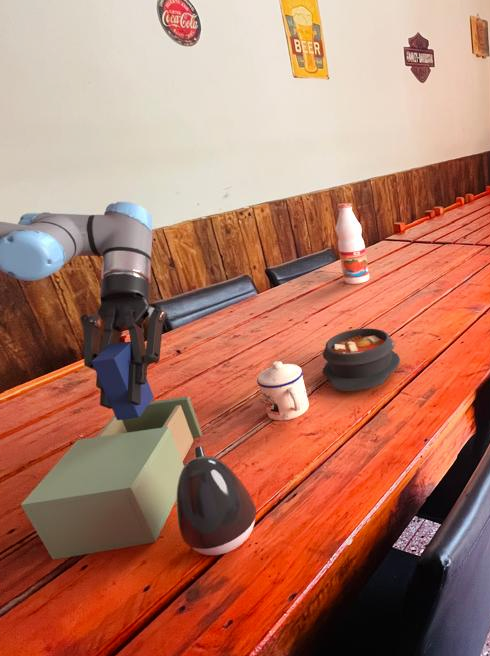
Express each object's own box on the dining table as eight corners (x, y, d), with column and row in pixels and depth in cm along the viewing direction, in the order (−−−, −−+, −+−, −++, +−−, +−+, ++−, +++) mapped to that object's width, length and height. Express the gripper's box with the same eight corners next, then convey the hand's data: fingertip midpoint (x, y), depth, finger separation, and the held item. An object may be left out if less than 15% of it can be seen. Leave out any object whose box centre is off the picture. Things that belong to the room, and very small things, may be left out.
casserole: (401, 392, 115) (396, 359, 111) (317, 402, 113) (309, 369, 109) (400, 345, 137) (397, 317, 134) (330, 353, 135) (324, 324, 132)
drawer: (140, 431, 104) (125, 394, 100) (208, 422, 106) (195, 385, 102) (97, 494, 88) (76, 452, 84) (178, 481, 90) (161, 439, 86)
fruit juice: (366, 274, 197) (354, 200, 184) (372, 281, 189) (361, 204, 177) (341, 279, 193) (328, 203, 181) (347, 286, 185) (333, 207, 173)
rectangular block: (117, 420, 88) (91, 361, 83) (134, 399, 94) (110, 343, 89) (139, 417, 89) (114, 358, 83) (154, 396, 95) (132, 340, 90)
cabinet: (101, 489, 90) (77, 439, 85) (188, 476, 92) (168, 426, 87) (52, 559, 76) (20, 504, 71) (155, 542, 78) (130, 487, 73)
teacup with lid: (260, 410, 111) (246, 363, 106) (300, 394, 116) (289, 349, 111) (281, 433, 103) (268, 383, 98) (323, 415, 108) (312, 366, 103)
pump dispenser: (257, 506, 84) (233, 430, 78) (266, 548, 76) (240, 467, 69) (189, 530, 80) (157, 452, 73) (190, 578, 72) (154, 495, 65)
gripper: (183, 285, 99) (182, 402, 91) (89, 295, 96) (81, 416, 89) (164, 267, 91) (162, 392, 84) (63, 277, 89) (51, 407, 82)
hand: (120, 404), depth 87 cm, fingers closed on rectangular block, 3 cm apart
